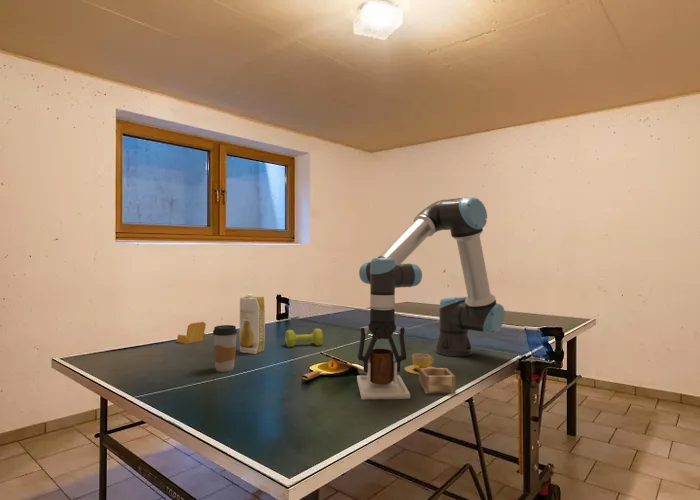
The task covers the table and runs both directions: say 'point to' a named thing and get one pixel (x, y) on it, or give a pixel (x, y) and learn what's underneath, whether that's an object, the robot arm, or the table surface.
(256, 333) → the juice carton
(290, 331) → the dumbbell
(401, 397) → the tray
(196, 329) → the yellow stepped piece
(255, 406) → the table surface
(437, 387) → the oak box
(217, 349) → the coffee cup
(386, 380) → the mug
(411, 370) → the cup
